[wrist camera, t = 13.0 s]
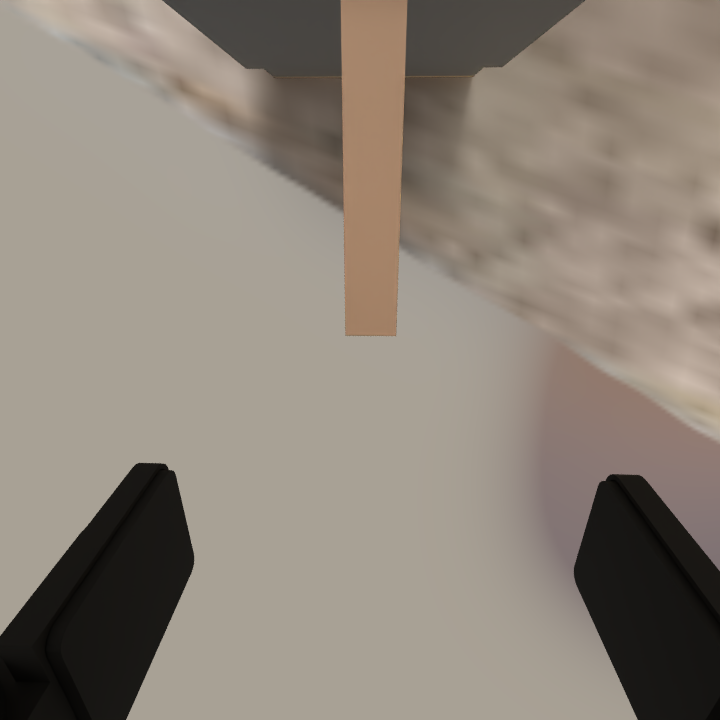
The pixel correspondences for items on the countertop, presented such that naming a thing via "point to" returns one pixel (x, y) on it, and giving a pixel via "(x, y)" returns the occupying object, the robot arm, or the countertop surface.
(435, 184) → the countertop surface
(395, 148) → the lid
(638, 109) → the countertop surface
